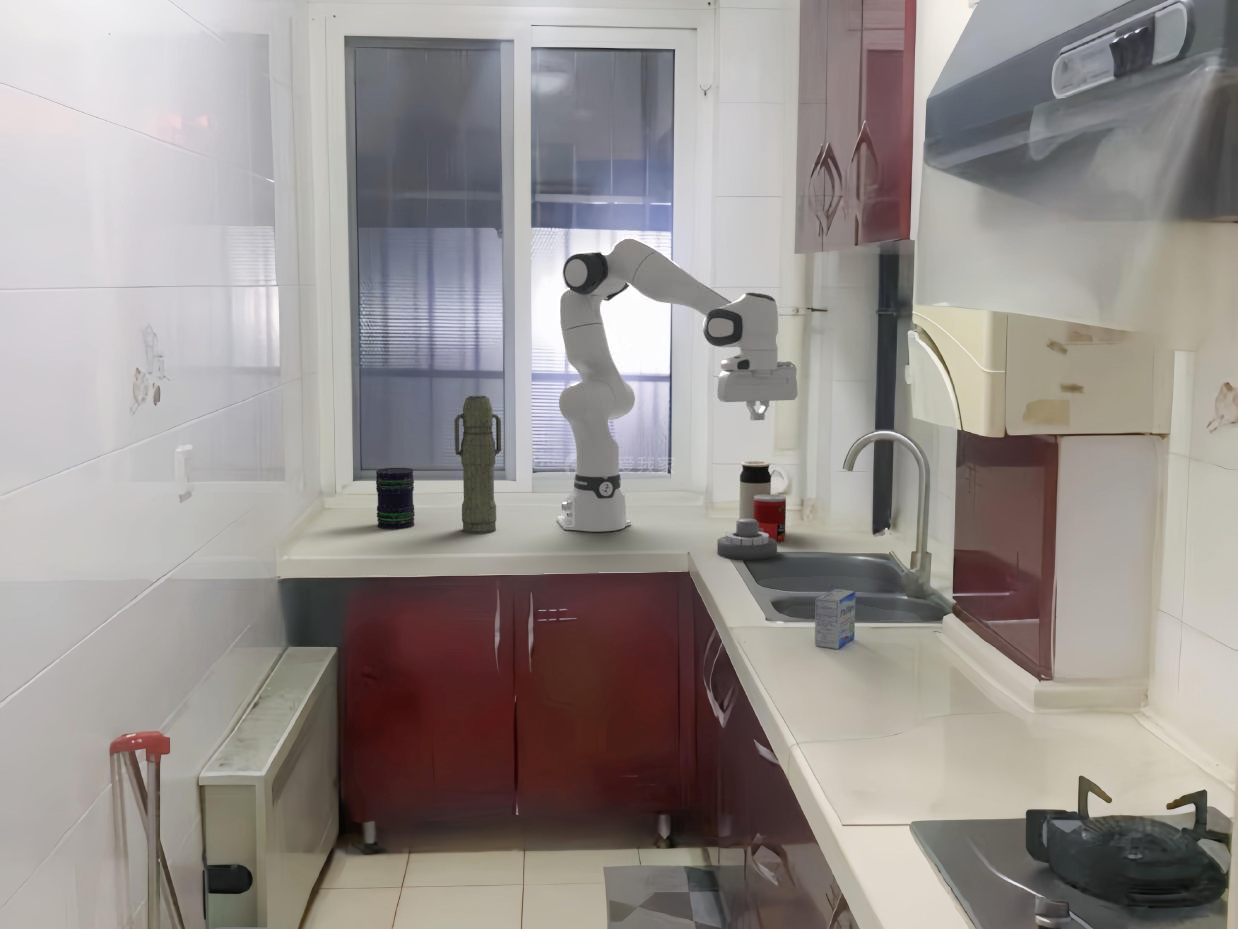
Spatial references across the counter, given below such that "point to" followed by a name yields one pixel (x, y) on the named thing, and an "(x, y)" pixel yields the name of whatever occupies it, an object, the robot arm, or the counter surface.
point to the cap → (747, 528)
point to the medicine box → (835, 618)
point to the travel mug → (753, 486)
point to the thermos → (478, 463)
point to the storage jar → (395, 498)
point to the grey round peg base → (747, 547)
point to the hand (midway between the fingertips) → (757, 420)
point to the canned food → (771, 515)
